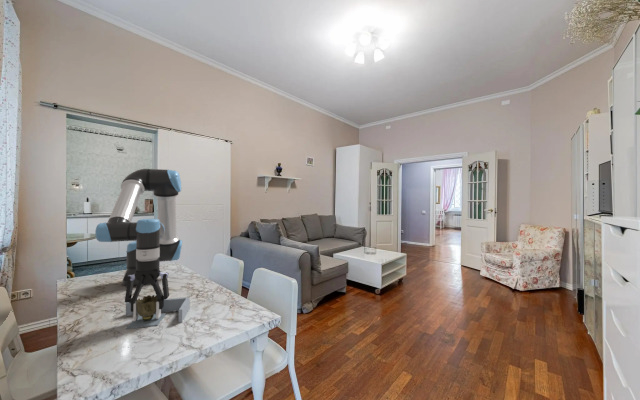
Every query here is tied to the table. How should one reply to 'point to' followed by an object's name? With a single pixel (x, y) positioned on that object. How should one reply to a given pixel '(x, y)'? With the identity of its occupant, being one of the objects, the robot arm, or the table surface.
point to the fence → (170, 307)
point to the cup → (147, 307)
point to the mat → (145, 322)
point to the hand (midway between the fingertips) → (147, 318)
